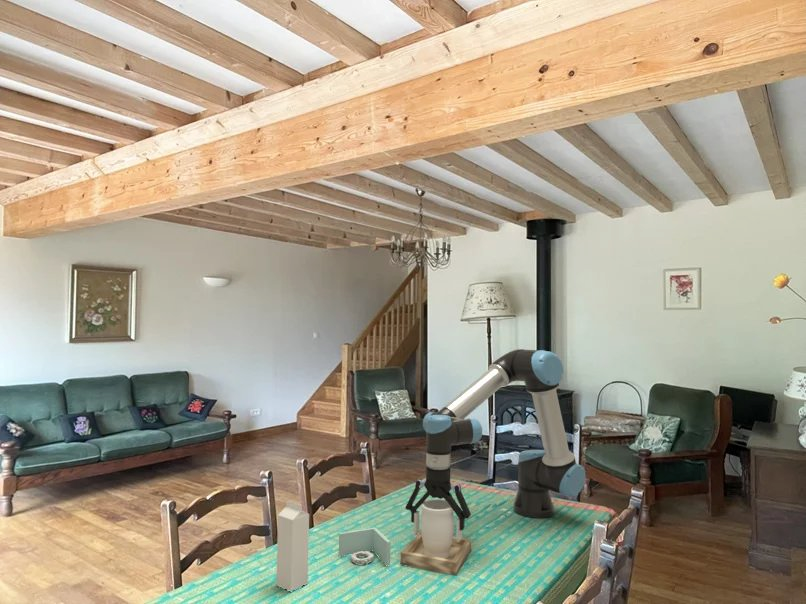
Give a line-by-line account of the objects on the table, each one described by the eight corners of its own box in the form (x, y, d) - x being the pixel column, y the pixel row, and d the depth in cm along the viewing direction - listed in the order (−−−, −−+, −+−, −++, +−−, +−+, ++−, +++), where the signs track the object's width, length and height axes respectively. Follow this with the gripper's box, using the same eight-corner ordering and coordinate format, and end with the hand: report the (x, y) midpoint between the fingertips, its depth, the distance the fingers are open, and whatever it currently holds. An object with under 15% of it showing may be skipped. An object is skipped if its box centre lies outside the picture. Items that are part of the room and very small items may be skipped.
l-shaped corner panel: (338, 558, 161) (339, 533, 161) (375, 551, 166) (375, 527, 166) (351, 575, 150) (352, 548, 151) (390, 567, 155) (390, 541, 156)
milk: (292, 578, 147) (295, 497, 148) (307, 584, 143) (310, 501, 144) (275, 586, 142) (278, 502, 143) (290, 593, 138) (293, 507, 139)
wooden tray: (471, 550, 166) (471, 539, 167) (456, 575, 150) (456, 562, 150) (420, 542, 173) (420, 531, 173) (400, 564, 156) (400, 552, 156)
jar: (451, 563, 155) (452, 511, 156) (417, 559, 157) (418, 508, 158) (455, 548, 165) (456, 500, 166) (423, 545, 168) (423, 497, 168)
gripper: (396, 464, 164) (394, 534, 162) (475, 474, 154) (474, 548, 153) (404, 459, 170) (403, 526, 169) (480, 468, 161) (480, 538, 160)
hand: (437, 536), depth 161 cm, fingers open, 13 cm apart
